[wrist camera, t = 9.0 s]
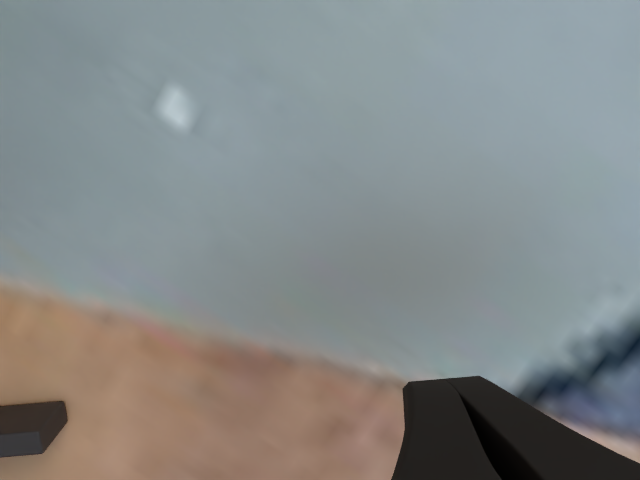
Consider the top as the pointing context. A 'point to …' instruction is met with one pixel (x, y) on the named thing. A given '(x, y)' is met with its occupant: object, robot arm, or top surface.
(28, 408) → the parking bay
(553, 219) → the top surface
